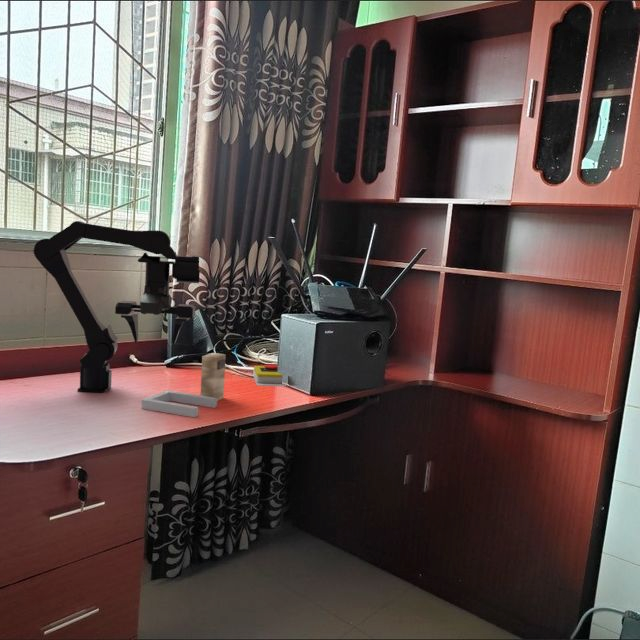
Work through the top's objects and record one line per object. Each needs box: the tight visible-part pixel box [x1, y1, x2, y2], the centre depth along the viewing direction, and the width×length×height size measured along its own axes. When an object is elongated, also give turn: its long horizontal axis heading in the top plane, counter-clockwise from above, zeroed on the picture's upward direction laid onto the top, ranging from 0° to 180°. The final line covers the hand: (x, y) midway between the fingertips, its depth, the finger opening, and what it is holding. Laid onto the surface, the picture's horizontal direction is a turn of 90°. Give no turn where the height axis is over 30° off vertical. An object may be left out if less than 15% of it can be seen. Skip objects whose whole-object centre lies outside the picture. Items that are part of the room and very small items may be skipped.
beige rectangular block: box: [200, 352, 227, 402], centre depth 151 cm, size 4×6×11 cm
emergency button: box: [252, 363, 287, 387], centre depth 176 cm, size 9×4×15 cm
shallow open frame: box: [141, 390, 218, 418], centre depth 142 cm, size 14×10×2 cm
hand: (155, 343), depth 154 cm, fingers open, 9 cm apart
